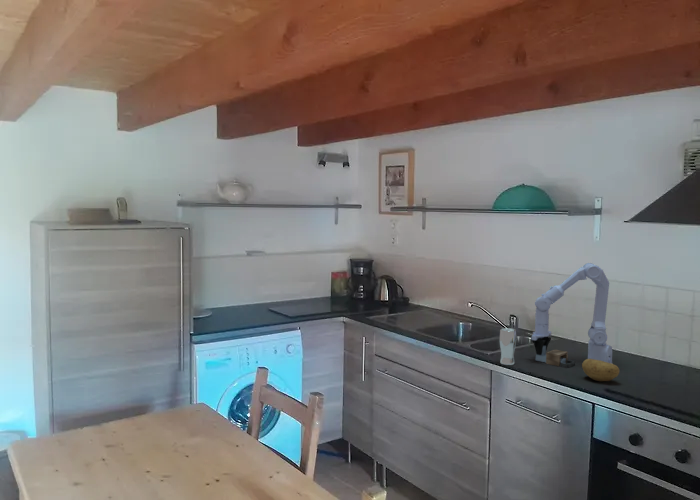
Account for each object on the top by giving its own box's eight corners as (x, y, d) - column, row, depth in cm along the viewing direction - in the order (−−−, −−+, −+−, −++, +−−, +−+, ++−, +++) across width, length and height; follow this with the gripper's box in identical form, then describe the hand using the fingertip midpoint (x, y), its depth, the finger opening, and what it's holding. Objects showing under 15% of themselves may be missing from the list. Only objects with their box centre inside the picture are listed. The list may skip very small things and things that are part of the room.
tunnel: (567, 363, 255) (567, 351, 255) (559, 366, 250) (559, 354, 249) (554, 360, 260) (554, 349, 259) (546, 363, 254) (546, 352, 254)
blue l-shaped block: (565, 363, 254) (566, 349, 254) (560, 365, 251) (561, 350, 251) (540, 358, 263) (540, 344, 262) (535, 360, 259) (535, 346, 259)
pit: (575, 364, 252) (575, 361, 252) (567, 367, 247) (567, 364, 247) (567, 363, 255) (567, 360, 255) (560, 366, 250) (560, 363, 250)
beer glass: (504, 360, 259) (505, 327, 258) (518, 363, 254) (519, 329, 253) (496, 363, 254) (496, 329, 253) (510, 366, 249) (511, 332, 248)
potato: (613, 387, 221) (613, 366, 220) (577, 379, 231) (578, 359, 230) (623, 382, 227) (624, 362, 227) (588, 374, 238) (589, 355, 237)
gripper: (541, 320, 267) (540, 349, 268) (525, 324, 257) (524, 354, 258) (556, 322, 262) (555, 352, 263) (540, 327, 252) (539, 357, 253)
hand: (541, 353), depth 260 cm, fingers closed on blue l-shaped block, 3 cm apart
